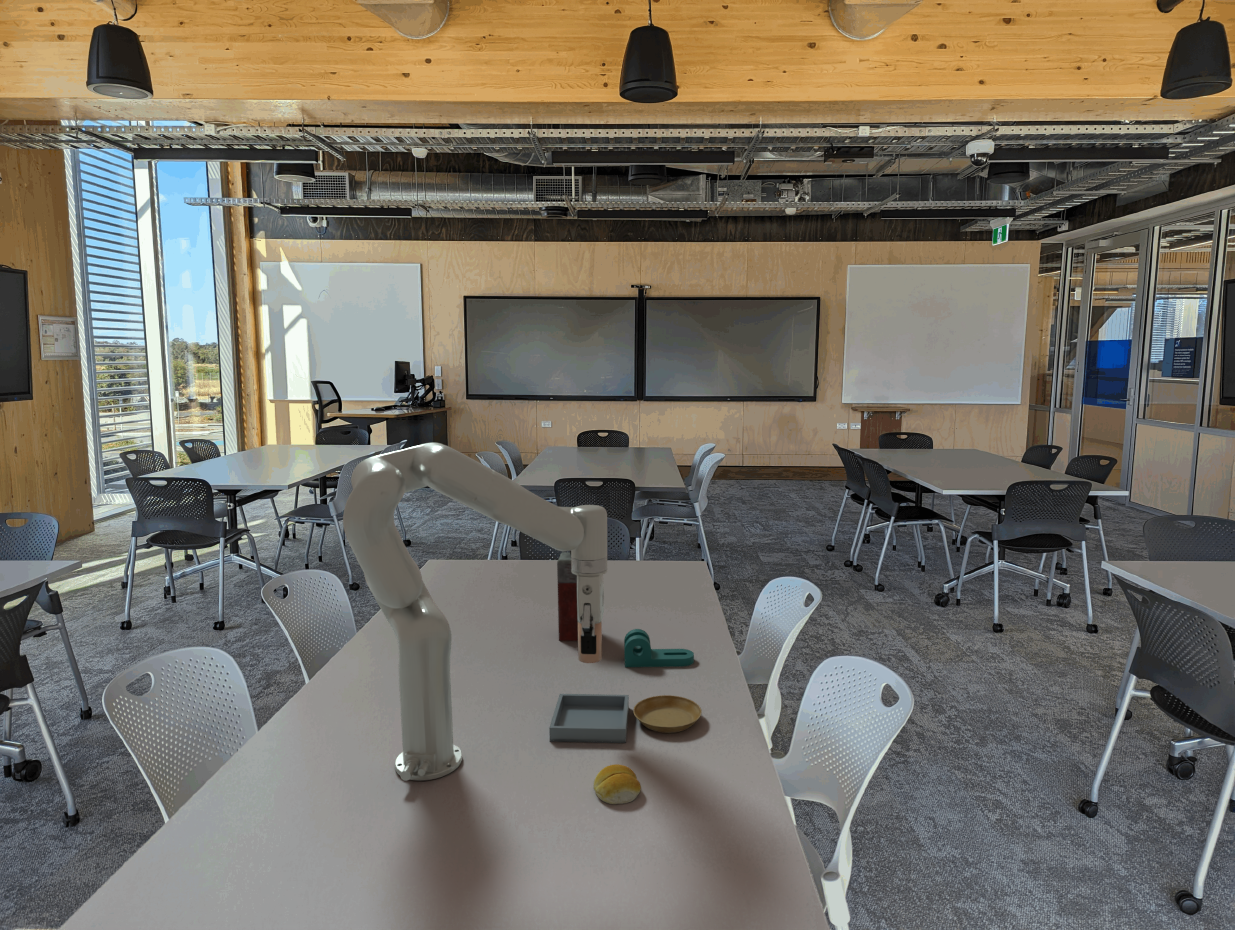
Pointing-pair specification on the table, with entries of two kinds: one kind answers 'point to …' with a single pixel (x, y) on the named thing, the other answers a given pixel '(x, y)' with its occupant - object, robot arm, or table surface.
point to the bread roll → (616, 784)
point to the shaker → (598, 632)
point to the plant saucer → (667, 713)
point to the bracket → (652, 653)
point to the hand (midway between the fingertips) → (590, 647)
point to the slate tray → (590, 718)
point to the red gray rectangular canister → (567, 599)
